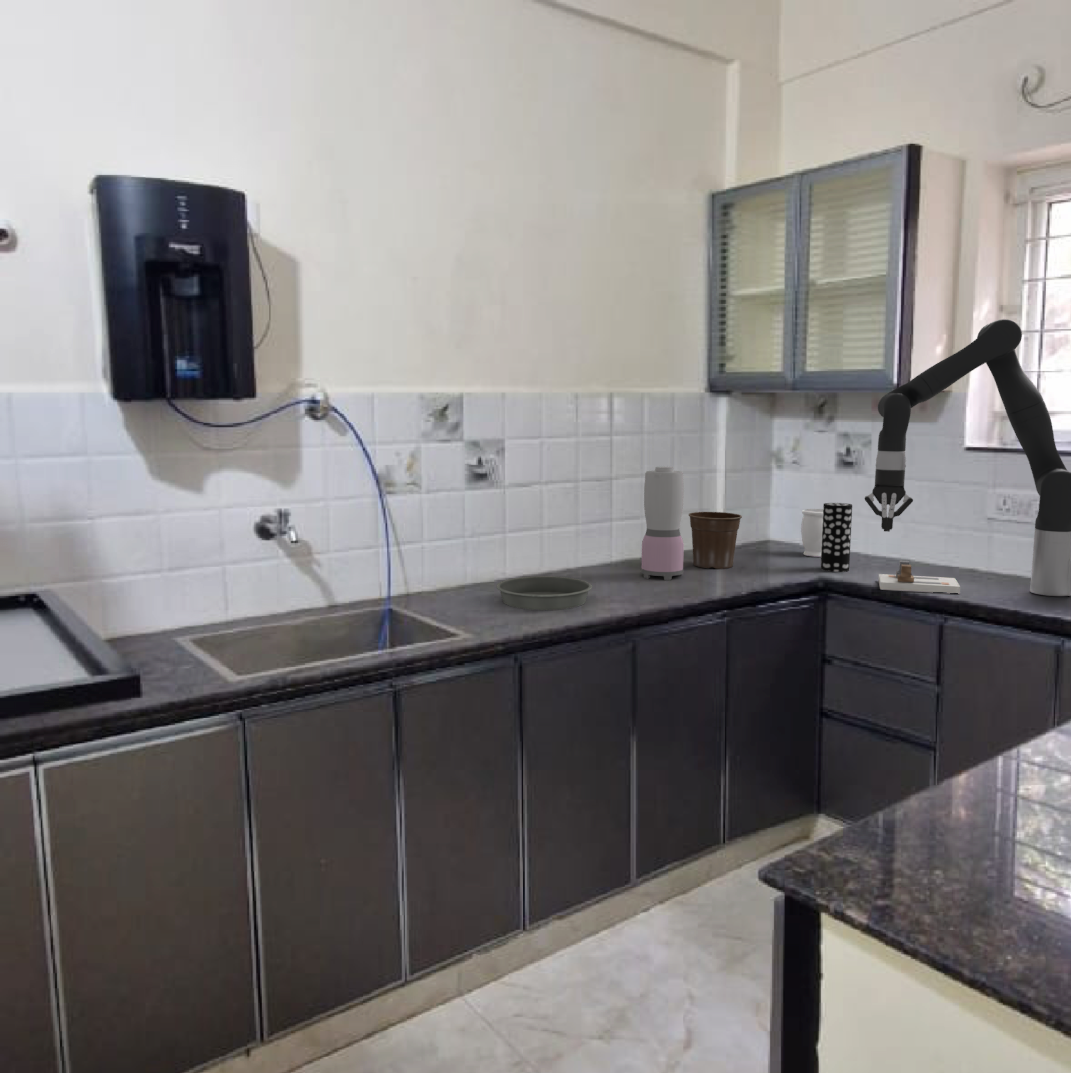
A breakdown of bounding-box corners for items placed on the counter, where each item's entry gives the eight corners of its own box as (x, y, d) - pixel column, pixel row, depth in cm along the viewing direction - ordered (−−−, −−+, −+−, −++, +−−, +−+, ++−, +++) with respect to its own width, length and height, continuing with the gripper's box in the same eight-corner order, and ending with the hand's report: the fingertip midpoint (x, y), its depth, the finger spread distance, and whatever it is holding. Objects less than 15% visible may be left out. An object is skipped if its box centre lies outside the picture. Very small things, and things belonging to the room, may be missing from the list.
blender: (675, 581, 271) (678, 469, 266) (635, 578, 276) (637, 467, 271) (691, 572, 285) (693, 465, 280) (652, 569, 290) (654, 464, 285)
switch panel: (954, 585, 266) (954, 577, 266) (959, 594, 254) (960, 586, 254) (878, 580, 272) (878, 573, 272) (880, 589, 260) (880, 581, 260)
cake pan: (476, 601, 245) (476, 584, 244) (544, 588, 262) (544, 572, 261) (544, 617, 228) (544, 598, 227) (611, 602, 245) (612, 584, 244)
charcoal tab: (910, 575, 268) (911, 560, 268) (911, 577, 265) (912, 562, 264) (895, 574, 269) (896, 559, 269) (896, 576, 266) (897, 562, 265)
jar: (812, 551, 324) (814, 508, 322) (839, 555, 316) (841, 510, 314) (793, 555, 317) (795, 510, 315) (820, 559, 310) (822, 513, 307)
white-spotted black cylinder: (850, 572, 286) (853, 506, 283) (821, 571, 287) (824, 505, 284) (847, 567, 294) (850, 503, 291) (819, 566, 295) (822, 502, 292)
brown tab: (912, 579, 262) (913, 564, 261) (913, 582, 258) (914, 566, 258) (897, 579, 263) (898, 564, 262) (898, 581, 259) (898, 566, 259)
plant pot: (750, 566, 296) (752, 514, 294) (719, 572, 285) (720, 519, 283) (708, 559, 308) (710, 510, 306) (676, 565, 297) (677, 514, 295)
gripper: (915, 467, 259) (911, 530, 262) (864, 466, 263) (860, 528, 266) (917, 469, 252) (913, 534, 255) (864, 468, 256) (861, 531, 259)
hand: (886, 531), depth 260 cm, fingers closed
